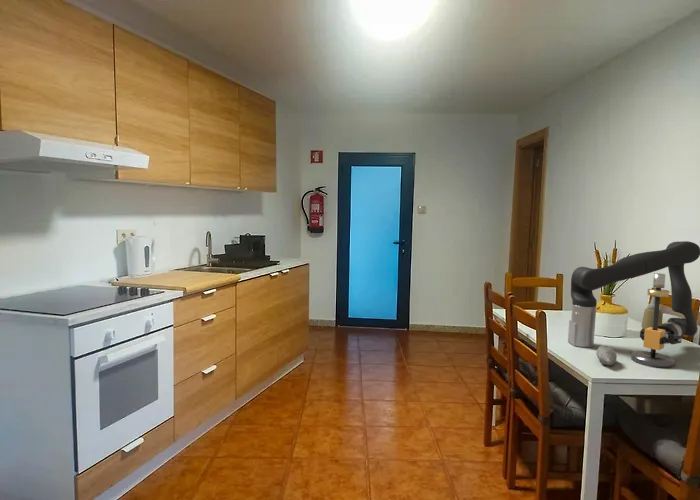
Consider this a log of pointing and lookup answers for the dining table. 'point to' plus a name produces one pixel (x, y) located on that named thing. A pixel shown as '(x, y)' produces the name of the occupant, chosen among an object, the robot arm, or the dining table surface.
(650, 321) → the squeeze bottle
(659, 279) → the post
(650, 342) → the sleeve
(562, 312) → the dining table surface
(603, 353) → the grey stone
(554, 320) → the dining table surface
